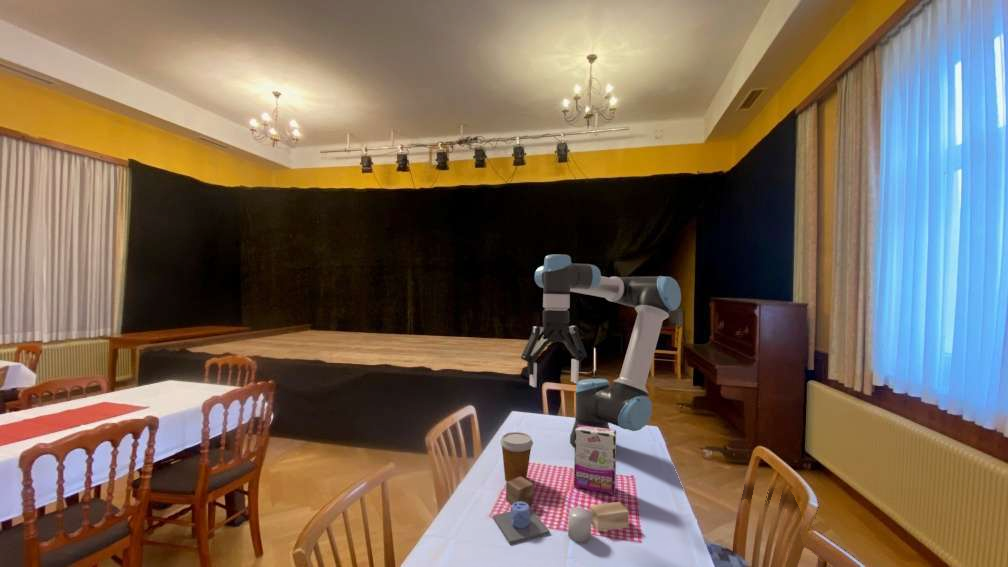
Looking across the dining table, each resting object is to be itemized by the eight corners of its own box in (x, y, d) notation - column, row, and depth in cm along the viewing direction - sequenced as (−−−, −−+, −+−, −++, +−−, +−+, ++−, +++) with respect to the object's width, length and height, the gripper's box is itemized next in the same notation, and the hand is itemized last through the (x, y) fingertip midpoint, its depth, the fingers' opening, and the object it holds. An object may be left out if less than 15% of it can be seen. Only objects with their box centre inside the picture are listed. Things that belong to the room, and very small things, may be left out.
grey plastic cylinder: (582, 526, 89) (582, 505, 89) (595, 540, 84) (595, 517, 84) (564, 531, 87) (564, 510, 87) (576, 545, 82) (576, 522, 82)
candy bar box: (615, 487, 107) (617, 429, 107) (614, 496, 102) (616, 435, 103) (576, 479, 111) (577, 423, 111) (573, 487, 106) (574, 429, 106)
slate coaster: (529, 509, 95) (529, 507, 95) (549, 533, 86) (549, 531, 86) (492, 517, 91) (492, 515, 91) (509, 544, 82) (509, 541, 82)
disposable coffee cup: (529, 489, 105) (530, 446, 105) (496, 485, 107) (497, 442, 107) (533, 473, 114) (534, 433, 114) (502, 469, 116) (504, 430, 116)
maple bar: (589, 522, 91) (589, 505, 91) (619, 518, 93) (619, 501, 93) (597, 533, 87) (598, 515, 87) (628, 528, 89) (628, 511, 89)
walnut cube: (520, 494, 102) (520, 476, 102) (532, 503, 98) (533, 484, 98) (505, 500, 99) (506, 481, 99) (518, 510, 95) (518, 490, 95)
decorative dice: (530, 528, 87) (530, 510, 87) (513, 529, 86) (513, 511, 86) (526, 517, 91) (527, 500, 91) (510, 518, 90) (510, 501, 90)
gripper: (585, 308, 116) (583, 377, 116) (510, 308, 106) (508, 384, 106) (600, 310, 109) (598, 383, 109) (522, 310, 99) (520, 391, 99)
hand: (554, 384), depth 107 cm, fingers open, 13 cm apart
